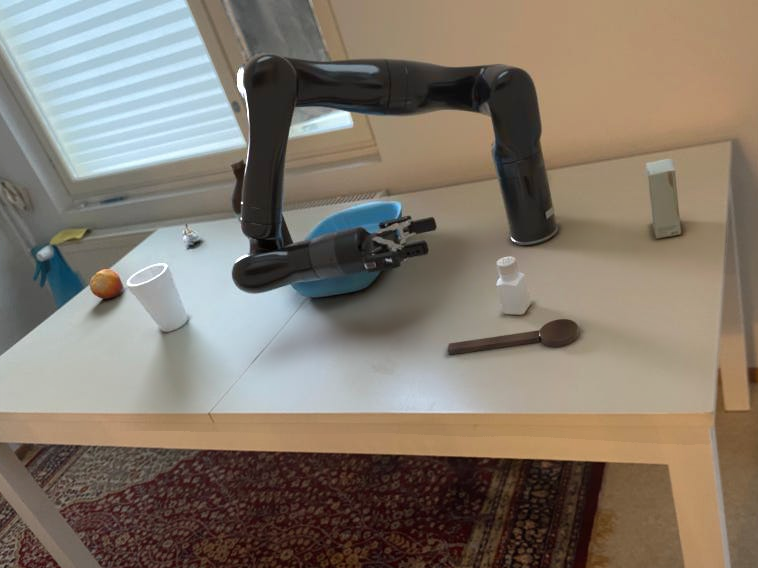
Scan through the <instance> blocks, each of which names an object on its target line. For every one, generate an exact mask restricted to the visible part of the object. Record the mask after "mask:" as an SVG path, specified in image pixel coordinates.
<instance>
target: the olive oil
mask: <svg viewBox="0 0 758 568" xmlns="http://www.w3.org/2000/svg"><path fill="white" fill-rule="evenodd" d="M229 165H230V167H231V171H232V173H233V175H234V177H235V182H234V186H233V188H232V190H231V194H230V205H231V208H232V211H233V213H234V215H235V218H237V221H238V223H239V224H240V225H241V202H242V189H243V181H244V175H245V169H246V163H245V161H244V159H243V158H237V159H234V160H232V161H231V162H230V163H229ZM281 222H282V223H281V235H282V240H283V247H285V246H287V245H290V244H292V243H294V240H293V238H292V235H291V233H290V230H289V228H288V226H287V222H286V220H285V216H284V214H283V213H282V221H281ZM247 240H248V241H249V238H247Z"/></svg>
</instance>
